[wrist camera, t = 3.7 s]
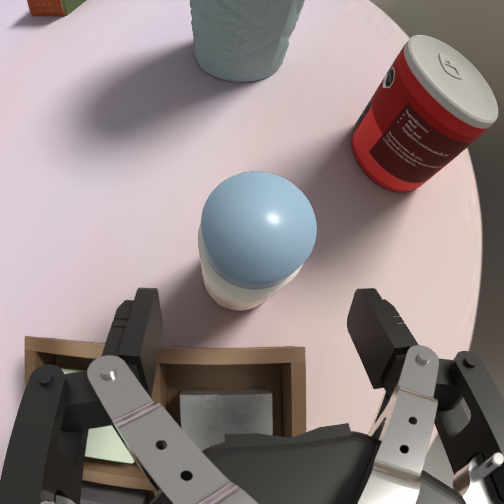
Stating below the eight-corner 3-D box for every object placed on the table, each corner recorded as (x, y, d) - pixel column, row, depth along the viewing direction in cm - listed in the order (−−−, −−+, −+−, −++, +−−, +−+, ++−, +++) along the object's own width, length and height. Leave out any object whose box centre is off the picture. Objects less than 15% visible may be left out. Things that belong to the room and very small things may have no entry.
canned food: (399, 117, 27) (456, 42, 17) (436, 188, 25) (515, 125, 15) (334, 121, 26) (385, 26, 15) (371, 202, 24) (454, 122, 13)
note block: (73, 437, 16) (54, 449, 13) (68, 367, 17) (47, 370, 15) (143, 447, 17) (133, 463, 14) (139, 374, 18) (127, 379, 15)
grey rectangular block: (186, 439, 17) (182, 452, 15) (183, 388, 18) (179, 394, 16) (265, 438, 18) (272, 450, 15) (264, 387, 19) (272, 393, 16)
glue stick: (202, 310, 20) (194, 286, 11) (203, 238, 22) (198, 165, 12) (276, 310, 21) (326, 285, 12) (274, 239, 22) (315, 170, 13)
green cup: (178, 83, 25) (171, -33, 14) (195, 24, 28) (198, -69, 16) (292, 93, 26) (330, -18, 15) (288, 32, 29) (313, -57, 17)
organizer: (76, 534, 14) (61, 554, 11) (50, 337, 18) (24, 336, 15) (289, 546, 16) (300, 570, 13) (290, 346, 20) (305, 347, 17)
